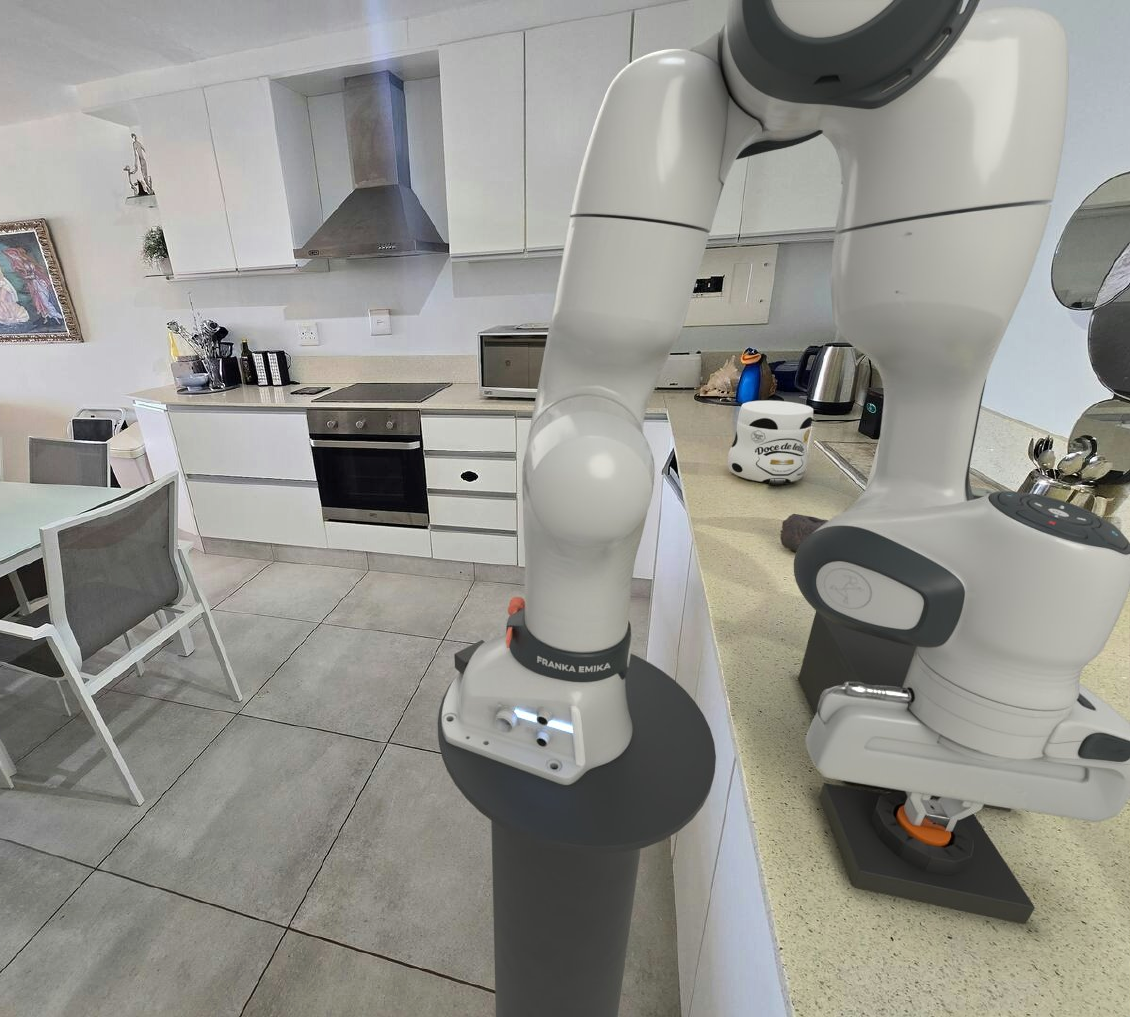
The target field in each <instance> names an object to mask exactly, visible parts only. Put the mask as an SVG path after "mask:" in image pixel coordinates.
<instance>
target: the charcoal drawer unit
mask: <svg viewBox="0 0 1130 1017" xmlns="http://www.w3.org/2000/svg"><path fill="white" fill-rule="evenodd" d="M916 647H917V646H911V645H906V644H902V643H898V642H894V641H890V640H886V639H882V638H878V637H875V636H871V635H868V634H865V633H861V632H858V631H855V630H851V629H848V628H845V627H843V626H840V625H838V624H836V623H834V622H832V621H830V620H828V619H827V618H825V617H824V616H822V615H821V614H820V613H818V612H817V611H816V610H815V612H814V617H813V621H812V625H811V629H810V632H809V636H808V640H807V644H806V648H805V651H804V655H803V659H802V663H801V666H800V670H799V675H798V679H797V681H798V683H799V685H800V687H801V690H802V692H803V694H804V697H805V699H806V701H807V703H808V706H809V708H810V710H811V713H812V715H813V718H814V717H815V715H816V713H817V709H818V704H819V700H820V697H821V694H822V692H823V691H824V690H825V689H829V688H831V687H834V686H839V685H844V683H845V682H861V683H864V684H868V685H884V686H894V687H903V684H904V681H905V678H906V675H907V672H908V669H909V667H910V664H911V661H912V658H913V655H914V653H915V650H916ZM842 782H843V783H844V784H848V785H853V786H854V785H855V786H859V787H865V788H872V789H877V790H884V791H889V792H894V791H898V792H904V793H906V792H905V791H902V790H896V789H890V788H884V787H878V786H872V785H866V784H860V783H854V782H848V781H842ZM939 798H941V797H938V796H931V798H930V799H933V800H938V799H939ZM982 808H987V809H992V810H999V811H1005V812H1011V810H1012V809H1010V808H1004V807H998V806H992V805H986V804H984V805H983V807H982Z"/></svg>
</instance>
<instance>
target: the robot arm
mask: <svg viewBox="0 0 1130 1017" xmlns="http://www.w3.org/2000/svg"><path fill="white" fill-rule="evenodd" d="M980 1H981V0H968V1H967V3H966V5H965V7H964V9H962V8H963V4H964V0H728V4H727V12H726V19H725V22H724V24H723V26H722V27H721V29H720V31H716V32H714V34H712V35H711V37H709V38H708V39H707V40H705V41H703V42H701V43H700V44H698V45H695V46H690V49H685V48H668V49H667V48H666V49H663V50H657V51H654V52H650V53H648V54H645V55H643V56H640V57H638V58H636V59H634V60H633V61H631V62H630V63H628V64H627V65H626V66H624V68H622V69H621V70H620V71H619V72H618V73H617V75H616V76H615V77H614V78H613V80H612V81H611V82H610V84H609V87H608V88H607V91H606V92H605V95H604V98H603V100H602V103H601V105H600V108H599V111H598V113H597V116H596V119H595V121H594V124H593V128H592V130H591V134H590V136H589V140H588V143H587V145H586V149H585V153H584V156H583V160H582V163H581V167H580V170H579V175H578V178H577V179H578V180H577V182H576V186H575V189H574V195H573V199H572V205H571V209H570V214H569V219H568V224H567V229H566V234H565V240H564V244H563V250H562V256H561V261H560V266H559V272H558V276H557V282H556V288H555V293H554V298H553V304H552V308H551V314H550V319H549V325H548V330H547V336H546V342H545V347H544V352H543V357H542V363H541V368H540V373H539V380H538V384H537V388H536V389H537V390H536V394H535V395H536V396H535V400H534V405H533V410H532V415H531V421H530V426H529V431H528V437H527V441H526V447H525V452H524V455H523V456H524V457H523V461H522V467H521V468H522V469H521V477H522V478H521V479H522V480H521V482H522V483H521V484H522V485H521V486H522V488H521V489H522V522H523V523H522V524H523V545H524V598H523V597H521V596H514V597H512V599H510V601H509V606H508V607H507V614H508V615H509V617H508V619H507V621H506V629H505V630H506V632H505V633H503V634H500V635H499V636H496V637H494V638H491V639H489V640H487V641H484V640H483V639H481V640H478V641H477V642H475V643H473V644H471V645H468V646H467V647H465V648H463V649H461V650H459V651H457V652H455V653H453V656H454V668H455V670H456V671H458V672H459V673H458V674H457V675H456V676H455V677H454V678H455V679H454V678H453V680H452V681H453V682H452V681H451V683H452V684H451V683H450V684H451V686H450V688H449V690H448V692H447V695H446V697H445V701H444V704H443V709H442V718H441V727H442V732H443V735H444V738H445V740H446V741H447V742H448V743H450V744H452V745H455V746H457V747H460V748H463V749H466V750H468V751H471V752H474V753H477V754H479V755H482V756H485V757H488V758H490V759H493V760H496V761H498V762H501V763H504V764H507V765H509V766H512V767H515V768H518V769H520V770H523V771H526V772H529V773H531V774H534V775H537V776H540V777H542V778H545V779H548V780H551V781H553V782H556V783H559V784H562V785H570V784H572V783H574V782H576V781H577V780H578V779H579V778H580V777H581V776H582V775H583V774H584V773H585V772H586V771H588V770H590V769H592V768H595V767H598V766H601V765H604V764H606V763H608V762H610V761H612V760H614V759H616V758H617V757H618V756H620V755H621V754H622V753H623V752H624V751H625V749H626V748H627V747H628V745H629V743H630V741H631V737H632V731H633V727H632V721H631V717H630V714H629V710H628V705H627V698H626V686H625V677H626V674H627V669H628V668H629V663H630V655H631V654H632V644H633V635H632V626H631V622H630V620H629V616H630V608H631V598H632V589H633V580H634V579H633V577H634V569H635V563H636V559H637V555H638V550H639V548H640V545H641V541H642V538H643V534H644V529H645V525H646V520H647V515H648V512H649V508H650V505H651V502H652V498H653V491H654V485H655V459H654V454H653V451H652V448H651V446H650V444H649V442H648V440H647V438H646V436H645V434H644V422H645V417H646V413H647V411H648V406H649V404H650V402H651V399H652V396H653V394H654V391H655V390H656V386H657V384H658V381H659V379H660V378H661V375H662V373H663V370H664V368H665V366H666V363H667V361H668V359H669V357H670V355H671V353H672V351H673V349H674V348H675V346H677V343H678V342H679V340H680V338H681V335H682V331H683V328H684V325H685V321H686V318H687V314H688V311H689V308H690V304H691V301H692V297H693V293H694V289H695V287H696V283H697V279H698V276H699V272H700V269H701V266H702V262H703V258H704V254H705V251H706V247H707V244H708V241H709V238H710V233H711V231H712V228H713V223H714V220H715V216H716V212H717V209H718V206H719V202H720V198H721V195H722V192H723V189H724V185H725V184H726V181H727V179H728V176H729V173H730V171H731V169H732V167H733V166H734V163H735V162H736V160H737V161H738V160H741V159H745V158H748V157H753V156H755V155H760V154H764V153H768V152H772V151H778V150H782V149H786V148H790V147H791V148H792V147H794V146H797V145H801V144H803V143H805V142H808V141H810V140H812V139H814V138H817V137H818V136H820V135H823V136H824V137H825V138H826V139H827V140H828V141H829V142H830V144H831V146H832V147H833V149H834V150H835V152H836V156H837V159H838V162H839V167H840V184H841V185H842V187H841V194H840V198H839V204H838V209H837V217H836V224H835V230H834V234H835V235H834V237H833V238H834V239H833V245H832V251H831V252H832V253H831V254H832V255H831V262H830V283H829V284H830V296H831V297H830V298H831V299H830V300H831V310H832V317H833V323H834V327H835V328H836V329H837V331H838V332H839V334H840V335H841V336H842V337H843V338H844V340H845V341H847V343H848V344H850V345H851V346H852V347H853V348H855V349H856V350H858V351H860V352H861V353H862V354H863V355H864V356H865V357H866V358H868V359H869V361H871V363H872V365H874V367H875V368H876V370H877V372H878V374H879V376H880V379H881V382H882V389H883V404H882V405H883V406H882V413H881V423H880V433H879V438H880V441H879V440H878V441H879V450H878V459H877V467H876V472H875V474H874V477H873V479H872V481H871V483H870V484H869V486H868V487H867V488H866V487H865V489H866V490H864V491H863V492H862V493H861V495H860V496H859V497H858V498H857V499H856V500H855V501H854V503H852V504H851V505H850V506H848V507H847V508H846V509H844V510H843V511H841V512H840V513H839V514H837V515H835V516H833V517H832V518H831V519H828V520H829V521H828V522H826V523H825V524H823V525H822V526H821V527H819V528H818V529H817V530H815V531H814V532H813V533H812V534H810V535H809V536H808V537H807V538H806V539H804V541H803V542H802V543H801V544H800V546H799V547H798V549H797V551H795V553H794V554H795V555H794V559H793V574H794V579H795V583H796V585H797V587H798V589H799V591H800V593H801V595H802V597H803V598H804V599H805V601H806V602H807V603H808V604H809V605H810V606H811V607H812V608H813V610H815V612H816V611H817V612H818V613H820V614H821V615H822V616H824V617H825V618H827V619H828V620H830V621H832V622H834V623H836V624H838V625H840V626H843V627H845V628H848V629H851V630H855V631H858V632H861V633H865V634H868V635H871V636H875V637H878V638H882V639H886V640H890V641H894V642H898V643H902V644H906V645H911V646H917V647H916V650H915V653H914V655H913V658H912V661H911V664H910V667H909V669H908V672H907V675H906V678H905V681H904V684H903V687H894V686H884V685H868V684H864V683H861V682H845V683H844V685H839V686H834V687H831V688H829V689H825V690H824V691H823V692H822V694H821V697H820V700H819V704H818V709H817V713H816V715H815V717H814V716H813V719H812V721H811V723H810V725H809V728H808V730H807V733H806V735H805V741H804V742H805V747H806V751H807V753H808V756H809V758H810V760H811V762H812V764H813V766H814V768H815V769H816V770H817V771H818V772H819V773H820V775H821V776H822V777H824V778H826V779H830V780H836V781H841V782H843V781H848V782H854V783H860V784H866V785H872V786H878V787H884V788H890V789H896V790H902V791H905V792H906V794H907V796H908V798H907V800H906V803H905V805H904V811H905V814H906V816H907V818H908V820H909V822H910V823H911V824H912V825H916V826H922V827H928V828H934V829H939V830H943V831H949V832H951V831H953V829H954V826H955V824H956V822H957V820H961V819H963V818H965V817H967V816H969V815H972V814H974V815H975V813H978V812H980V811H982V809H983V808H984V807H983V805H984V804H986V805H992V806H998V807H1004V808H1010V809H1011V810H1017V811H1023V812H1029V813H1036V814H1042V815H1047V816H1052V817H1053V816H1054V817H1059V818H1066V819H1070V820H1077V821H1082V822H1083V821H1084V822H1088V823H1100V822H1104V821H1108V820H1110V819H1113V818H1115V817H1118V816H1119V814H1120V813H1121V812H1122V810H1123V809H1124V808H1125V807H1126V805H1127V803H1128V802H1129V800H1130V721H1129V720H1128V719H1127V718H1126V717H1124V716H1123V715H1122V714H1121V713H1120V712H1119V711H1117V710H1116V709H1115V708H1114V707H1113V706H1112V705H1110V703H1108V702H1107V701H1105V700H1104V699H1103V698H1101V696H1099V695H1098V694H1096V693H1095V692H1094V691H1093V690H1092V689H1090V688H1089V687H1088V686H1086V685H1085V684H1082V683H1081V682H1080V679H1081V674H1082V673H1083V670H1084V669H1085V667H1086V666H1087V665H1088V664H1089V663H1091V662H1092V661H1094V659H1096V658H1097V657H1098V656H1099V655H1100V654H1101V653H1102V652H1103V650H1104V648H1105V647H1106V645H1107V643H1108V641H1109V639H1110V637H1111V635H1112V633H1113V632H1114V629H1115V627H1116V625H1117V623H1118V620H1119V619H1120V615H1121V614H1122V611H1123V608H1124V606H1125V603H1126V601H1127V598H1128V595H1129V593H1130V541H1129V539H1128V538H1127V537H1126V536H1125V535H1124V533H1123V532H1122V531H1121V530H1120V529H1119V527H1117V526H1116V525H1115V524H1114V523H1112V522H1111V521H1109V520H1107V519H1104V518H1103V517H1101V516H1099V515H1098V514H1097V513H1095V512H1094V511H1093V512H1092V511H1090V510H1088V509H1086V508H1084V507H1081V506H1079V505H1076V504H1073V503H1071V502H1068V501H1065V500H1062V499H1058V498H1055V497H1052V496H1048V495H1044V494H1039V493H1031V492H1030V493H1029V492H1021V491H1014V490H1001V491H1000V490H999V491H994V493H991V494H988V495H986V496H984V497H981V498H978V499H974V497H973V494H972V490H971V487H972V486H971V480H970V468H971V461H972V457H973V456H972V455H973V450H974V444H975V440H976V434H977V429H978V423H979V419H980V418H979V417H980V414H981V406H982V403H983V402H982V401H983V397H984V392H985V386H986V383H987V377H988V374H989V372H990V369H991V366H992V364H993V361H994V360H995V356H996V354H997V351H998V350H999V348H1000V345H1001V342H1002V340H1003V338H1004V336H1005V334H1006V331H1007V329H1008V327H1009V325H1010V323H1011V320H1012V317H1013V316H1014V313H1015V311H1016V309H1017V307H1018V306H1019V303H1020V300H1021V299H1022V296H1023V294H1024V291H1025V290H1026V286H1027V284H1028V282H1029V279H1030V276H1031V274H1032V271H1033V268H1034V266H1035V263H1036V261H1037V257H1038V254H1039V251H1040V249H1041V245H1042V242H1043V240H1044V235H1045V232H1046V228H1047V225H1048V222H1049V218H1050V214H1051V209H1052V204H1051V203H1053V200H1054V197H1055V192H1056V188H1057V187H1056V186H1057V184H1058V178H1059V173H1060V167H1061V161H1062V155H1063V150H1064V144H1065V143H1064V142H1065V136H1066V134H1065V133H1066V125H1067V124H1066V123H1067V116H1068V104H1069V103H1068V102H1069V101H1068V99H1069V78H1070V77H1069V76H1070V75H1069V74H1070V73H1069V72H1070V71H1069V70H1070V69H1069V68H1070V67H1069V65H1070V64H1069V41H1068V35H1067V31H1066V30H1065V27H1064V25H1063V23H1061V21H1060V20H1059V18H1058V17H1056V16H1055V15H1053V14H1052V13H1050V12H1049V11H1046V10H1042V9H1040V8H1035V7H1028V6H999V7H998V6H997V7H992V8H987V9H982V10H978V11H976V10H977V8H978V6H979V3H980ZM449 721H451V722H449ZM551 768H556V770H553V769H551ZM931 796H938V797H941V798H939V799H934V798H931Z"/></svg>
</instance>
